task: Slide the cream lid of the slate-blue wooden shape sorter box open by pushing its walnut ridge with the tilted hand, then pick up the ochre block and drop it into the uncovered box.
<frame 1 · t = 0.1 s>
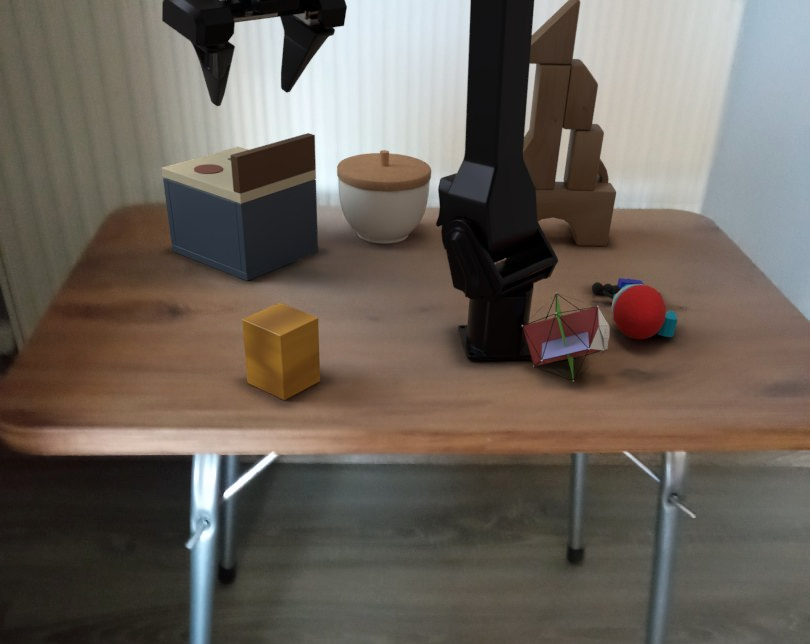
hand: (251, 97, 93), 15 cm above the table, tool pointing down, fingers open, 9 cm apart
toy figure: (630, 322, 90), on the table
block: (284, 382, 78), on the table
wooden toy: (538, 236, 108), on the table
geometric puzzle: (559, 371, 82), on the table
sorter: (245, 251, 101), on the table
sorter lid: (238, 156, 94), point 10 cm above the table, slide at 0.0 cm
trinket box: (382, 235, 106), on the table
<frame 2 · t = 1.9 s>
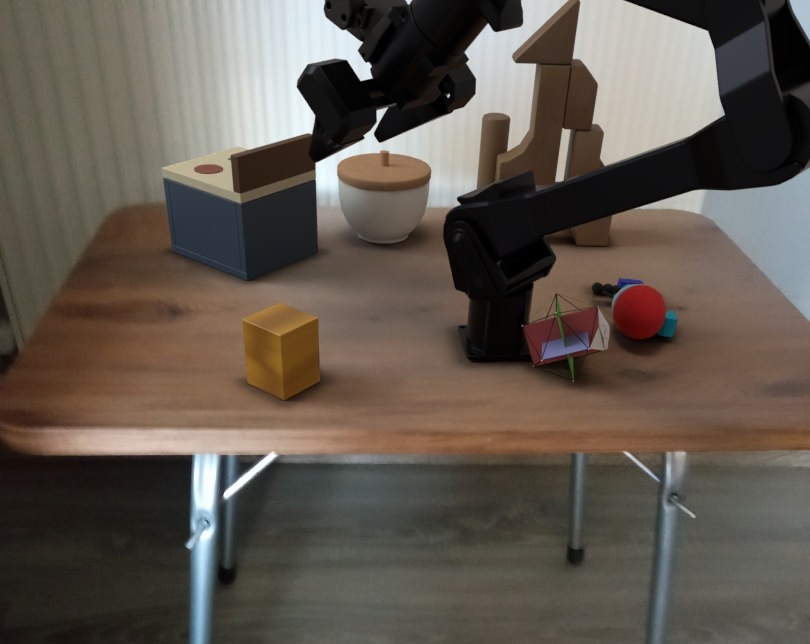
hand: (345, 148, 85), 14 cm above the table, tool tilted 40°, fingers open, 9 cm apart
nothing on the table moved.
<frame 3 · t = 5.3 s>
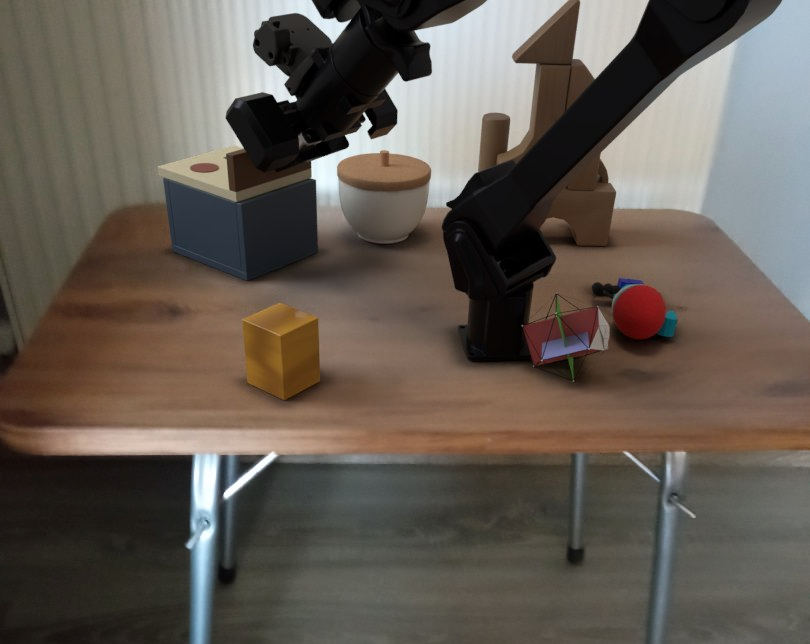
hand: (276, 167, 92), 10 cm above the table, tool tilted 45°, fingers closed, pressing on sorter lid
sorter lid: (233, 154, 95), point 10 cm above the table, slide at 0.6 cm, touching gripper
everything else where it was.
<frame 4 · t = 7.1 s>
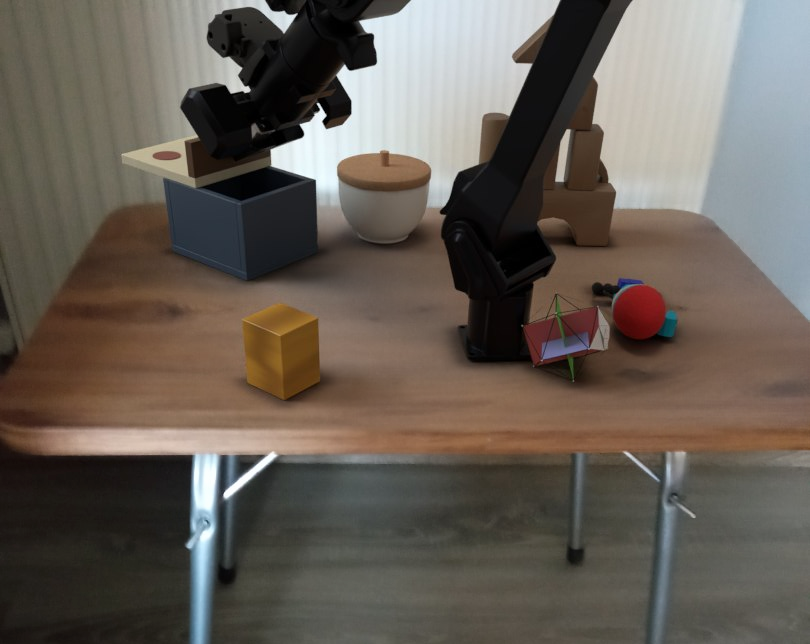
hand: (235, 157, 95), 10 cm above the table, tool tilted 45°, fingers closed, pressing on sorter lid
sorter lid: (195, 143, 97), point 10 cm above the table, slide at 6.7 cm, touching gripper
everything else where it was.
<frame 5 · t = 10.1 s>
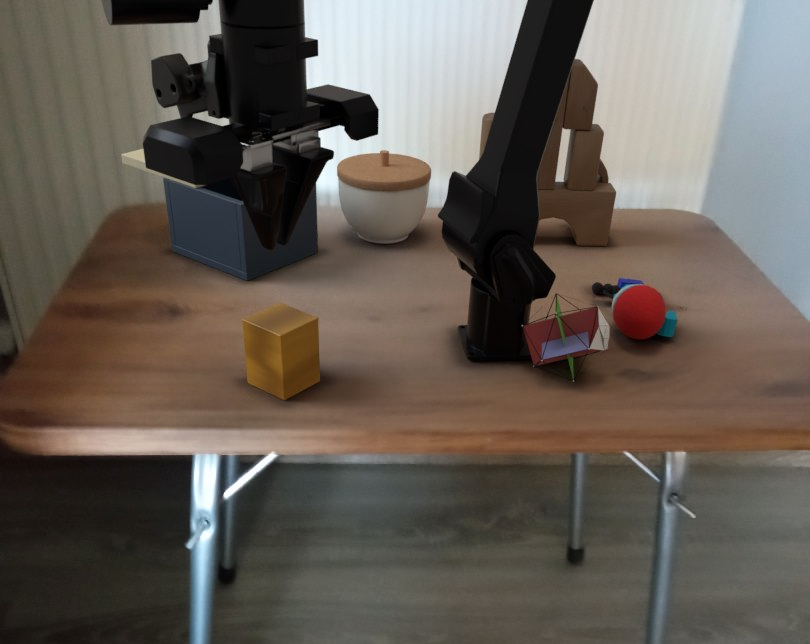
hand: (275, 246, 71), 12 cm above the table, tool pointing down, fingers closed
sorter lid: (195, 143, 97), point 10 cm above the table, slide at 6.7 cm
everything else where it was.
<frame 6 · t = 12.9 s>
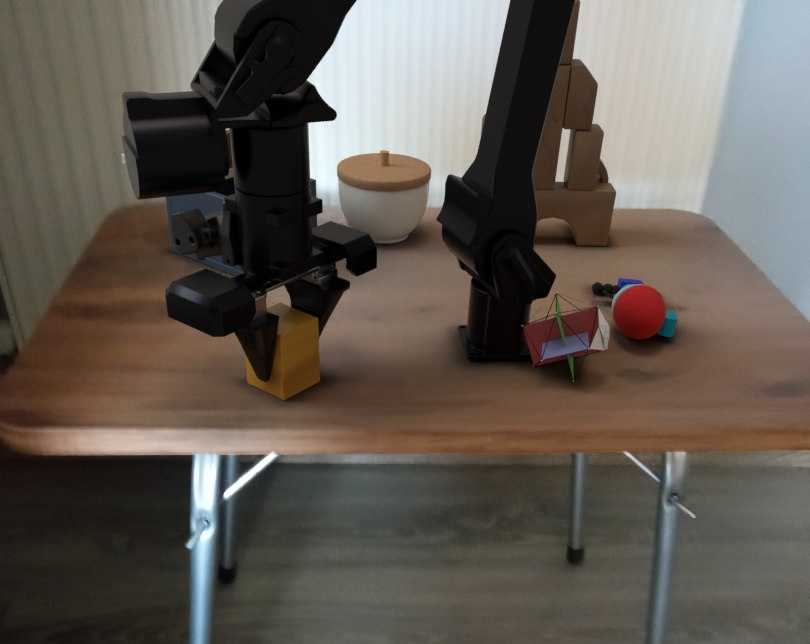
hand: (283, 369, 77), 1 cm above the table, tool pointing down, fingers closed on block, 4 cm apart
block: (284, 382, 78), on the table, touching gripper
everything else where it was.
when the fingers open (7 cm above the table, at t = 18.9 s): block stays where it is, resting on sorter.
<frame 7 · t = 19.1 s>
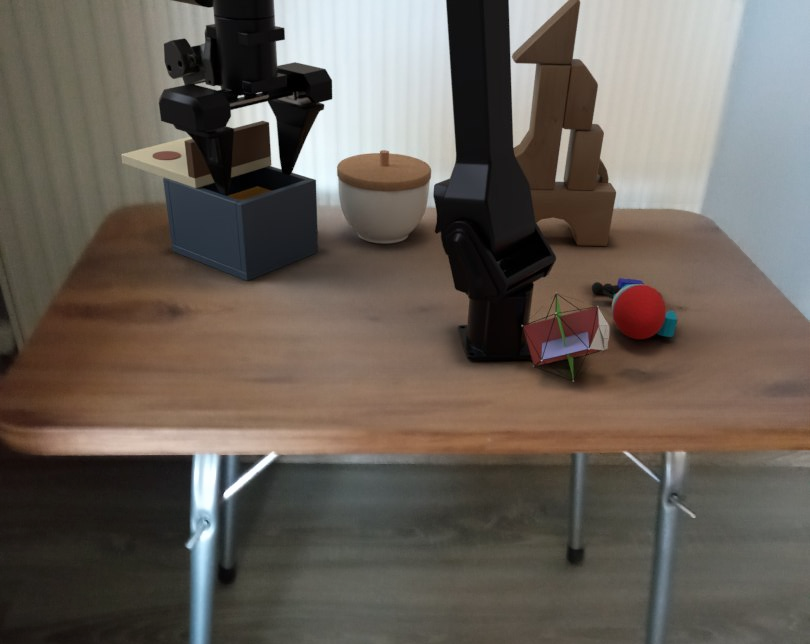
hand: (256, 183, 95), 8 cm above the table, tool pointing down, fingers open, 9 cm apart
block: (260, 250, 99), point 1 cm above the table, touching sorter
everything else where it was.
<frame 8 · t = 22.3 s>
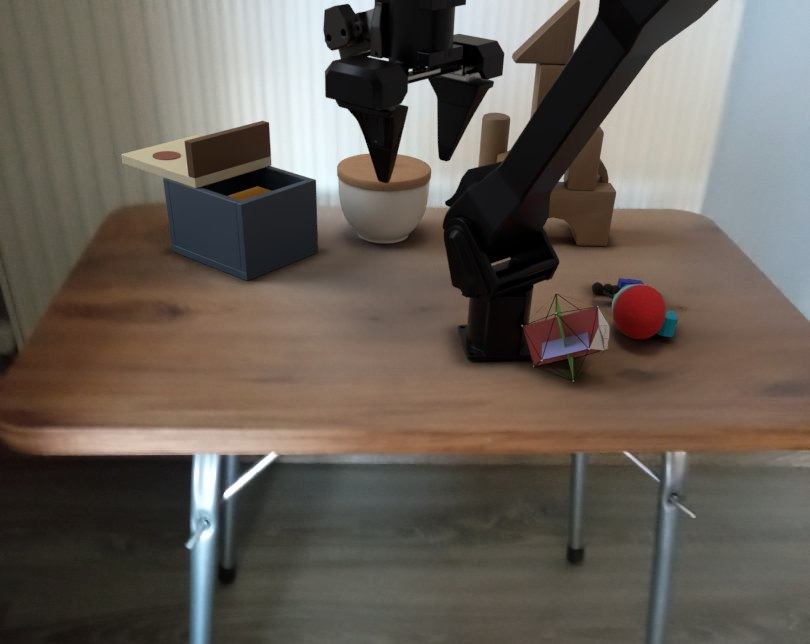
hand: (414, 170, 84), 13 cm above the table, tool pointing down, fingers open, 9 cm apart
nothing on the table moved.
at the end: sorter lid slide at 6.7 cm; block inside the target area on the sorter (1.1 cm from its centre), point 0.8 cm above the sorter's base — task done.
